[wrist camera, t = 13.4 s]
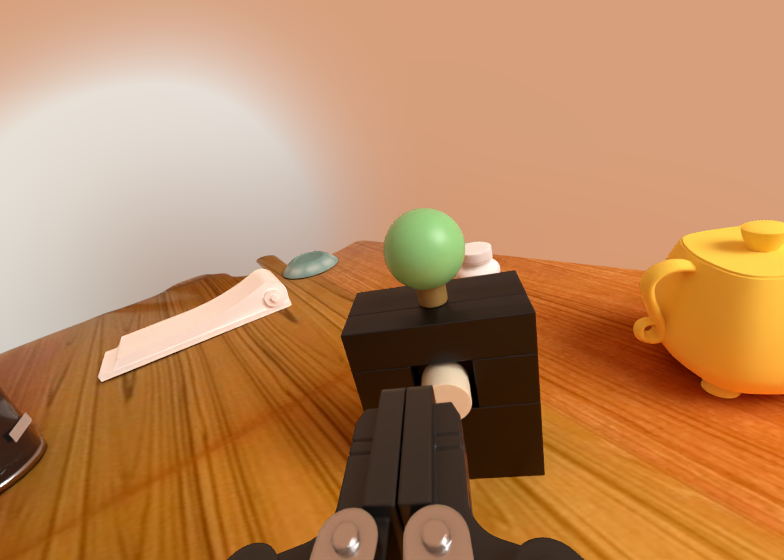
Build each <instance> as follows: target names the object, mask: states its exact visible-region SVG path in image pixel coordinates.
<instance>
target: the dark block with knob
mask: <svg viewBox="0 0 784 560" xmlns="http://www.w3.org/2000/svg"><path fill="white" fill-rule="evenodd" d="M464 256H465V241H464V237H463V235H462V232H461V230H460V228H459V227H458V225H457V224H456V222H455V221H454V220H453V219H452V218H450V217H449V216H448V215H446V214H445V213H443V212H441V211H438V210H435V209H430V208H419V209H414V210H411V211H409V212H406V213H404V214H403V215H401V216H400V217H399V218H398V219H397V220H395V221H394V223H393V224H392V225H391V227H390V228H389V230H388V232H387V234H386V237H385V241H384V258H385V262H386V265H387V267H388V269H389V270H390V272H391V273H392V275H393V276H394V277H395V278H396V279H397V280H398V281H399V282H401V283H402V284H404V285H406V286H403V287H396V288H389V289H382V290H375V291H368V292H361V293H357V295H356V297H355V300H354V303H353V305H352V308H351V310H350V313H349V315H348V319H347V321H346V324H345V326H344V329H343V332H342V334H341V339H342V342H343V345H344V348H345V351H346V355H347V358H348V361H349V364H350V368H351V371H352V374H353V377H354V381H355V384H356V387H357V390H358V393H359V397H360V400H361V403H362V406H363V410H364V411H365V410H366V409H375V408H378V407H379V401H380V395H381V391H382V390H385V389H395V388H408V387H416V386H421V383H422V374H423V371H424V370H425V368H426V367H427V366H428V365H430V364H438V363H448V362H456V363H458V364H460V365H461V366H462V367H463V368H464V369H465V370H466V371H467V373H468V377H469V384H470V391H471V399H472V407H471V409H470V411H469V413H468V414H467V415H466V416H465V417H464V418H462V419H461V423H462V429H463V435H464V441H465V447H466V453H467V463H468V473H469V479H474V478H494V477H513V476H532V475H544V474H545V472H544V454H543V437H542V419H541V403H540V384H539V366H538V353H537V352H538V349H537V331H536V314H535V310H534V308H533V306H532V304H531V302H530V300H529V298H528V296H527V294H526V292H525V290H524V288H523V285H522V283H521V281H520V279H519V277H518V275H517V273H516V271H515V270H514V271H507V272H500V273H493V274H486V275H479V276H472V277H465V278H458V279H452V278H454V276H455V275H456V274H457V273H458V271H459V270H460V268H461V266H462V263H463V261H464ZM451 279H452V280H451Z"/></svg>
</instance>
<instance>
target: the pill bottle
mask: <svg viewBox="0 0 784 560" xmlns="http://www.w3.org/2000/svg"><path fill="white" fill-rule="evenodd" d="M500 272H501V271H500V266H499V264H498V262H497V261H495V260H494V259H492V249H491V245H490V244H489V243H486V242H471V243H467V244H465V256H464V261H463V263H462V266H461V268H460V270H459V271H458V273H457V274H456V275H455V278H456V279H458V278H465V277H472V276H479V275H486V274H493V273H500Z"/></svg>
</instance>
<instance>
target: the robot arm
mask: <svg viewBox="0 0 784 560" xmlns="http://www.w3.org/2000/svg"><path fill="white" fill-rule="evenodd" d="M31 421H32V419H31V418H30V417H29V416H28V414H27V413H26V412H25V414H24V415H22V413H21V412H20V411H19V410H18V408H17V407H16V406H15V405H14V404H13V402H12V401H11V400H10V399H9V397H8V396H7V395H6V394H5V392H4V391H3V390H2V389H1V387H0V493H1V492H3V491H4V490H6V489H7V488H9V487H10V486H11V485H13V484H14V483H15V482H17V481H18V480H19V479H20V478H22V477H23V476H24V475H25V474H26V473H27V472H29V471H30V470H31V469H32V468H33V467H34V466H35V464H36V463H37V462H38V461H39V460H40V459H41V457H42V456H43V454H44V452H45V450H46V446H47V445H46V442H45V440H44V439H43V438H42V437H41V436H40V435H38V434H37V433H36V431H35V430H34V429H33V428H32V426H31V425H30V423H31ZM352 440H353V443H352V444H351V448H350V452H349V453H350V456H349V457H348V461H347V466H346V470H345V474H344V479H343V483H342V487H341V492H340V496H339V501H338V505H337V509H336V512H335V514H334V515H332V516H331V517H330V518H329V519H328V520H327V521H326V522H325V523H324V524H323V526H322V527H321V529H320V531H319V533H318V535H317V537H315V538H314V539H312V540H311V541H309V542H307V543H305V544H302V545H300V546H297V547H294V548H292V549H289V550H287V551H284V552H282V553H279V554H276V552H275V551H274V549H273V548H272V547H271V546H269V545H268V544H265V543H253V544H250V545H247V546H245V547H243V548H241V549H239V550H238V551H236V552H235V553H234V554H233V555H232V556H230V557H229V558H228V559H227V560H584V559H583V558H582V557H581V556H580V555H579V554H577V553H576V552H575V551H574V550H573V549H571V548H570V547H569V546H567V545H566V544H564V543H562V542H560V541H557V540H555V539H551V538H543V537H541V538H534V539H530V540H528V541H526V542H525V543H523V544H522V545H518V544H515V543H512V542H509V541H506V540H503V539H500V538H497V537H495V536H493V535H491V534H490V533H488V532H487V531H485V530H484V529H483V528H482V527H481V526H480V525H479V524H478V523H477V521H476V520H475V519H474V517H473V512H472V502H471V492H470V482H469V473H468V463H467V453H466V447H465V441H464V435H463V429H462V423H461V417H460V414H459V412H458V411H457V409H456V408H455V406H454V405H453V403H452V402H445V403H436V400H435V395H434V390H433V386H432V385H426V386H416V387H408V388H395V389H385V390H382V391H381V395H380V401H379V407H378V408H375V409H366V410H365V411H364V413H363V414H362V416H361V417H360V419H359V420H358V421H357V423H356V426H355V430H354V435H353V439H352Z"/></svg>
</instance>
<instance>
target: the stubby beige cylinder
mask: <svg viewBox="0 0 784 560" xmlns="http://www.w3.org/2000/svg"><path fill="white" fill-rule="evenodd" d="M426 385H432V386H433V390H434V395H435V400H436V403H445V402H452V403H453V405H454V406H455V408H456V409H457V411H458V412H459V414H460V417H461V419H462V418H464V417H465V416H466V415H467V414H468V413H469V411H470V409H471V407H472V399H471V391H470V384H469V377H468V373H467V371H466V370H465V369H464V368H463V367H462V366H461V365H460V364H458V363H456V362H448V363H438V364H430V365H428V366H427V367H426V368H425V370H424V371H423V374H422V383H421V386H426Z"/></svg>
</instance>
